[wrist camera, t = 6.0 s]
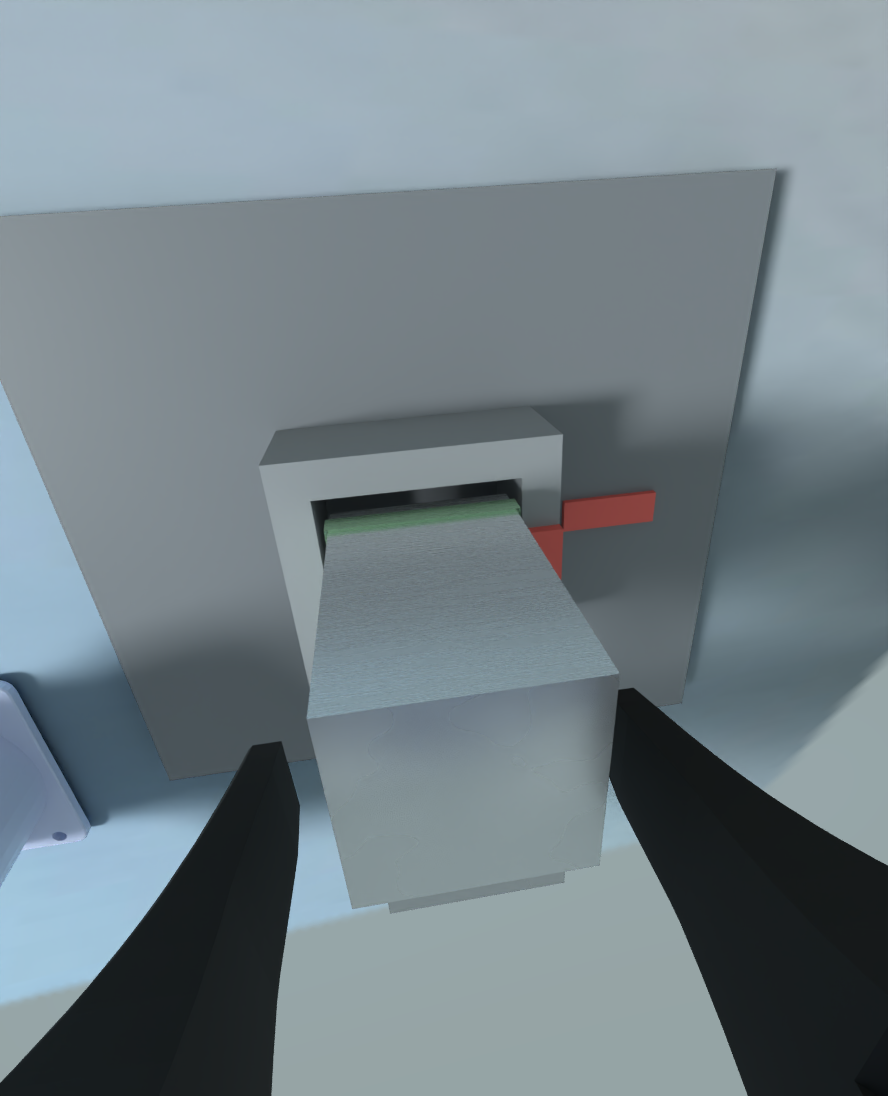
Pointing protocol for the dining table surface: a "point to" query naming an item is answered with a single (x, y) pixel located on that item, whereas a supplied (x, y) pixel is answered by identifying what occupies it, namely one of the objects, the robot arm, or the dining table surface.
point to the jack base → (375, 412)
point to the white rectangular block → (456, 706)
